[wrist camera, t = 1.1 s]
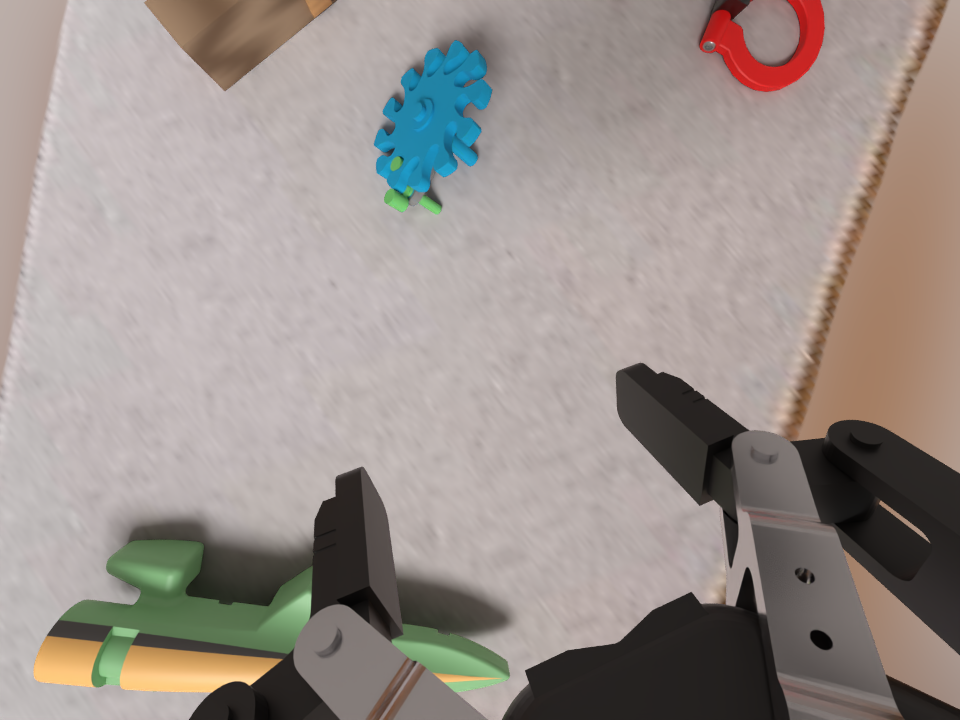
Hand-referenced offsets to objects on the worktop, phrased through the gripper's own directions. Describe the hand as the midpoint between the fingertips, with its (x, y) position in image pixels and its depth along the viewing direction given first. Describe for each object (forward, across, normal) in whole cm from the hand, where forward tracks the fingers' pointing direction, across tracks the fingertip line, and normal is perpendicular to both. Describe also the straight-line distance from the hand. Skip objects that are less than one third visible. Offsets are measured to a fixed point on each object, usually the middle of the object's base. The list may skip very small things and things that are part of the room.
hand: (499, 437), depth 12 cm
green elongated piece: (+14, +16, +26) cm, 33 cm away
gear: (+26, -4, -5) cm, 27 cm away
